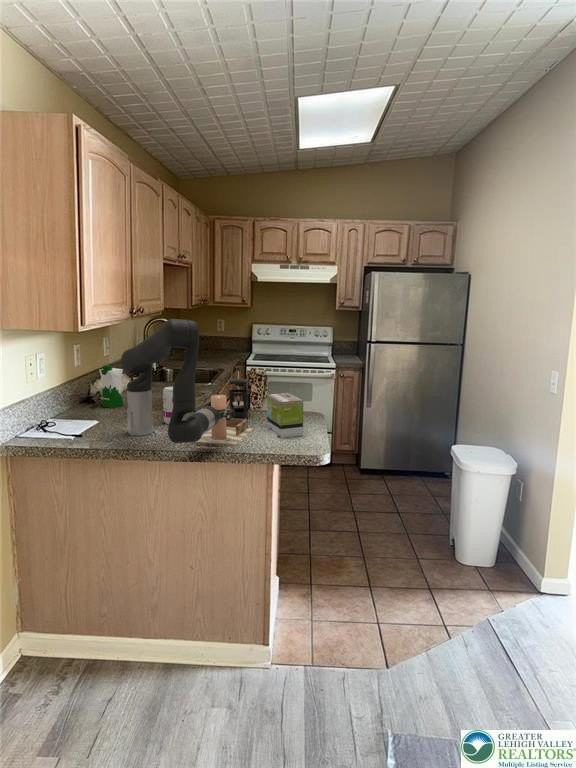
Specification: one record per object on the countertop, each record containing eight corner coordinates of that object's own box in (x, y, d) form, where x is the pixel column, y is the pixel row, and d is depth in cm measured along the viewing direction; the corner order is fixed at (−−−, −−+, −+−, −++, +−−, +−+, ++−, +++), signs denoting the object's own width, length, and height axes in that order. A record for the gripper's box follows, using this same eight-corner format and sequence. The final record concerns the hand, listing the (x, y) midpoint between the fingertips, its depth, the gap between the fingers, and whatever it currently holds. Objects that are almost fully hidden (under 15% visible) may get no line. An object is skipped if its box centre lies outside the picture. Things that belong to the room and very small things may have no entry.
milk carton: (99, 406, 257) (97, 365, 254) (114, 403, 265) (112, 363, 261) (111, 409, 253) (109, 367, 249) (126, 405, 260) (124, 364, 257)
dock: (234, 447, 194) (234, 435, 193) (193, 444, 198) (193, 432, 197) (254, 430, 218) (254, 419, 217) (217, 427, 222) (217, 416, 221)
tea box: (266, 429, 220) (266, 393, 218) (288, 426, 224) (288, 392, 222) (280, 438, 207) (280, 401, 204) (303, 435, 211) (304, 399, 208)
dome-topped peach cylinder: (223, 440, 198) (223, 398, 195) (209, 439, 199) (208, 397, 196) (231, 434, 206) (230, 393, 203) (217, 433, 207) (216, 392, 204)
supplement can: (187, 422, 229) (186, 388, 227) (171, 425, 223) (170, 390, 221) (176, 419, 235) (175, 385, 232) (159, 422, 229) (158, 388, 226)
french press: (236, 421, 232) (236, 368, 228) (222, 417, 239) (221, 366, 234) (256, 416, 241) (256, 366, 236) (242, 413, 247) (242, 363, 243)
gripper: (223, 410, 184) (238, 400, 199) (185, 407, 187) (202, 398, 202) (224, 431, 185) (238, 420, 200) (185, 428, 188) (203, 417, 204)
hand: (220, 409), depth 201 cm, fingers open, 8 cm apart
